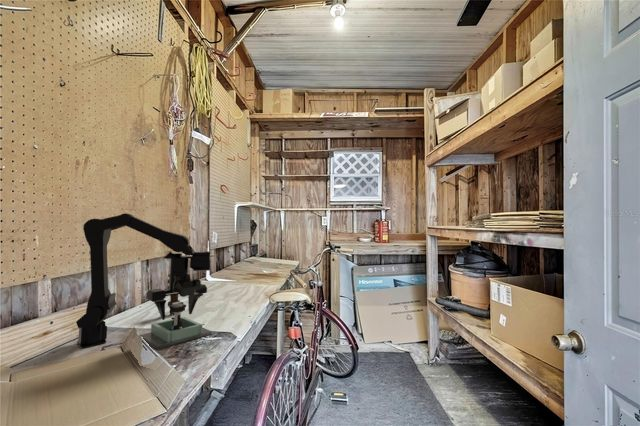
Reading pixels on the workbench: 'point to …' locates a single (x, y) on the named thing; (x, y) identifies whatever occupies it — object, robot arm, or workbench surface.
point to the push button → (177, 314)
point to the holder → (163, 330)
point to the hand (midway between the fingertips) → (177, 316)
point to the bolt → (172, 299)
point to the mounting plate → (160, 343)
